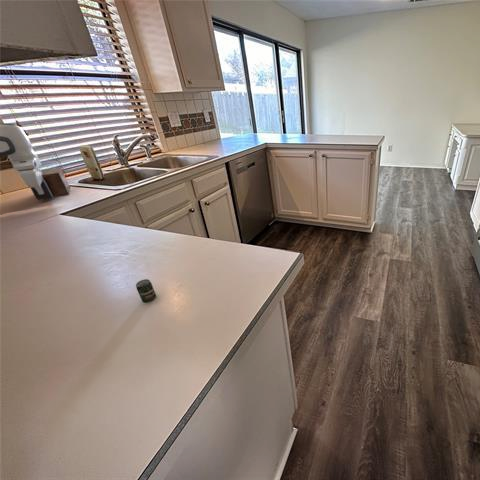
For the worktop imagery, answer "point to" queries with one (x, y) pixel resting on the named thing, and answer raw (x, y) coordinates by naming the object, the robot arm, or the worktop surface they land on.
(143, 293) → the beer can
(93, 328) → the worktop surface
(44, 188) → the holder
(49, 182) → the brown wooden stand
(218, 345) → the worktop surface
